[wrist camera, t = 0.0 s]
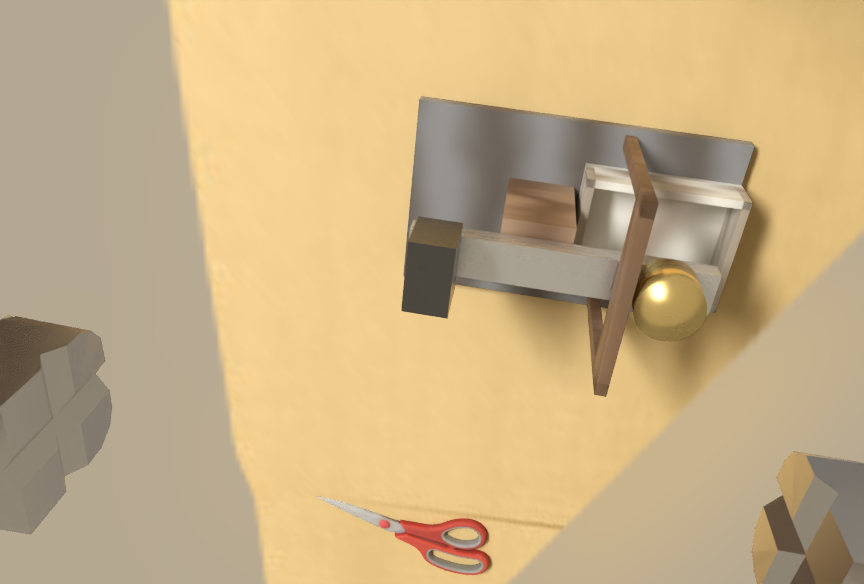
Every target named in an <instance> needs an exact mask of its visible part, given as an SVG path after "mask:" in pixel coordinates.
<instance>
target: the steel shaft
mask: <svg viewBox="0 0 864 584" xmlns="http://www.w3.org/2000/svg"><path fill="white" fill-rule="evenodd" d="M621 254H622V252H621V251H614V250H608V249H601V248H595V247H588V246H581V245H575V244H568V243H562V242H555V241H549V240H542V239H535V238H529V237H522V236H516V235H509V234H503V233H496V232H489V231H483V230H476V229H470V228H463V223H460V222H453V221H447V220H440V219H434V218H427V217H420V216H418V218H417V220H413V222H412V225H411V227H410V231H409V240H408V245H407V256H406V267H405V278H404V289H403V300H402V311H405V312H411V313H417V314H423V315H429V316H436V317H442V318H447V317H448V313H449V309H450V305H451V301H452V297H453V293H454V290H455V282H456V276H458V277H464V278H471V279H477V280H483V281H490V282H496V283H503V284H509V285H515V286H522V287H528V288H534V289H541V290H547V291H553V292H560V293H566V294H572V295H579V296H585V297H591V298H598V299H604V300H610V297H611V293H612V289H613V285H614V281H615V278H616V274H617V270H618V266H619V262H620V258H621ZM658 259H667V258H660V257H654V256H647V255H645V256H644V260H643V263H642V267H643V266H644V265H645V264H647V263H649V262H651V261H654V260H658ZM679 261H680V260H679ZM682 262H684V263H686V264H687V265H689V266H690V267H691V268H692V269H693V270H694V272H695V273H696V275H697V277H698V280H699V283H700V285H701V288H702V291H703V294H704V296H705V299H706V302H707V315H706V316H708V315H709V312H710V309H711V307H712V304H713V301H714V298H715V295H716V292H717V289H718V286H719V283H720V280H721V277H722V276H721V274H720V272H719V269H718V267H717V266H713V265H706V264H700V263H693V262H687V261H682ZM631 304H632V303H631Z"/></svg>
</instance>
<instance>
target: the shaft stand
mask: <svg viewBox="0 0 864 584" xmlns="http://www.w3.org/2000/svg"><path fill="white" fill-rule="evenodd" d="M753 149H754V145H753V144H752V142H748V141H740V140H733V139H726V138H719V137H712V136H704V135H697V134H690V133H683V132H675V131H668V130H661V129H654V128H646V127H639V126H632V125H625V124H618V123H610V122H603V121H596V120H589V119H581V118H574V117H567V116H560V115H552V114H545V113H538V112H531V111H523V110H516V109H509V108H502V107H495V106H487V105H480V104H473V103H466V102H458V101H451V100H444V99H437V98H429V97H422V96H421V98H420V100H419V110H418V121H417V132H416V143H415V154H414V165H413V176H412V188H411V199H410V210H409V221H408V232H407V243H406V254H405V265H404V276H405V267H406V256H407V245H408V240H409V231H410V227H411V225H412V222H413V220H417V218H418V216H420V217H427V218H434V219H440V220H447V221H453V222H460V223H463V228H470V229H476V230H483V231H489V232H496V233H503V234H509V235H516V236H522V237H529V238H535V239H542V240H549V241H555V242H562V243H568V244H575V245H581V246H588V247H595V248H601V249H608V250H614V251H621V252H622V254H621V258H620V262H619V266H618V270H617V274H616V278H615V281H614V285H613V289H612V293H611V297H610V300H604V299H598V298H591V297H585V296H579V295H572V294H566V293H560V292H553V291H547V290H541V289H534V288H528V287H522V286H515V285H509V284H503V283H496V282H490V281H483V280H477V279H471V278H464V277H458V276H456V282H455V284H459V285H465V286H471V287H478V288H484V289H490V290H496V291H503V292H509V293H515V294H522V295H528V296H534V297H541V298H547V299H553V300H560V301H566V302H572V303H578V304H585V305H587V309H588V322H589V335H590V348H591V361H592V374H593V386H594V395H599V396H605V397H606V395H607V391H608V388H609V384H610V380H611V377H612V373H613V369H614V366H615V362H616V358H617V355H618V351H619V347H620V344H621V340H622V336H623V333H624V329H625V325H626V322H627V318H628V314H629V312H633V308H632V304H631V303H632V300H633V296H634V293H635V289H636V285H637V282H638V278H639V274H640V271H641V267H642V263H643V260H644V256H645V255H647V256H654V257H660V258H667V259H675V260H680V261H687V262H693V263H700V264H706V265H713V266H717V267H718V269H719V272H720V274H721V276H722V277H721V280H720V283H719V286H718V289H717V292H716V295H715V298H714V301H713V304H712V307H711V309H710V312H716V309H717V306H718V303H719V300H720V298H721V295H722V292H723V289H724V286H725V283H726V280H727V277H728V274H729V271H730V268H731V265H732V262H733V260H734V257H735V254H736V251H737V248H738V245H739V242H740V239H741V236H742V233H743V230H744V227H745V224H746V221H747V219H748V216H749V213H750V210H751V207H752V204H753V202H752V201H751V199H750V198H749V196H748V194H747V193H746V191H745V190H744V188H743V187H742V183H743V180H744V177H745V174H746V171H747V168H748V165H749V162H750V159H751V156H752V152H753ZM601 307H604V308H608V309H607V313H606V317H605V321H604V325H603V322H602V313H601Z"/></svg>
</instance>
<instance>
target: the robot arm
mask: <svg viewBox="0 0 864 584" xmlns="http://www.w3.org/2000/svg"><path fill="white" fill-rule="evenodd" d="M104 362H105V357H104V352H103V347H102V342H101V338H100V337H99V336H97V335H96V334H95V333H93V332H92V331H89V330H85V329H79V328H74V327H69V326H64V325H59V324H54V323H48V322H43V321H38V320H33V319H28V318H23V317H17V316H15V317H13V316H10V315H6V314H0V529H1V530H7V531H14V532H19V533H26V534H32V533H33V532H34V530H35V529H36V528H37V527H38V526H39V524H40V523H41V522H42V521H43V519H44V518H45V517H46V516H47V515H48V513H49V512H50V511H51V510H52V508H53V507H54V506H55V505H56V504H57V502H58V501H59V500H60V499H61V497H62V496H63V495H64V494H65V493H66V486H65V476H66V475H68V474H70V473H72V472H74V471H76V470H78V469H80V468H83V467H85V466H87V465H88V464H89V463H90V462H91V460H92V459H93V458H94V456H95V455H96V454H97V453H98V451H99V450H100V449H101V447H102V445H103V442H104V439H105V437H106V434H107V432H108V429H109V427H110V421H111V411H112V404H111V397H110V390H109V389H108V388H107V387H106V386H105V385H104V383H103V382H102V381H101V380H100V378H99V377H98V376H97V375H96V372H97V371H98V370H99V368H100V367H101V366H102V364H103V363H104ZM777 480H778V483H779V486H780V489H781V491H782V494H783V495H782V496H780V497H779V498H777V499H775V500H774V501H772V502H770V503H768V504H767V505H765V506H764V507H763V509H762V511H761V514H760V517H759V519H758V521H757V524H756V527H755V531H754V539H753V548H752V556H753V567H754V573H755V577H756V580H757V584H864V463H861V462H855V461H849V460H843V459H837V458H831V457H825V456H819V455H813V454H807V453H801V452H795V451H794V452H793V453H791V454H790V456H789V457H788V458H787V459H786V460H785V461H784V463H783V465H782V467H781V469H780V471H779V473H778V475H777Z"/></svg>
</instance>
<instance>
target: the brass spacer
mask: <svg viewBox="0 0 864 584" xmlns="http://www.w3.org/2000/svg"><path fill="white" fill-rule="evenodd" d="M632 308H633V313H634V318H635V322H636V324H637V326H638V327H639V329H640V330H641V331H642V332H643V333H644V334H646V335H647V336H649V337H651V338H653V339H656V340H660V341H676V340H680V339H683V338H686V337H688V336H690V335H692V334H693V333H694V332H696V331H697V330H698V329H699V328H700V327H701V325H702V324H703V322H704V321H705V318H706V315H707V302H706V299H705V296H704V294H703V291H702V288H701V285H700V283H699V280H698V277H697V275H696V273H695V272H694V270H693V269H692V268H691V267H690V266H689V265H687V264H686V263H684V262H682V261H679V260H675V259H658V260H654V261H651V262H649V263H647V264H645V265H644V266H643V267H641V271H640V274H639V278H638V282H637V285H636V289H635V293H634V296H633V300H632Z"/></svg>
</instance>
